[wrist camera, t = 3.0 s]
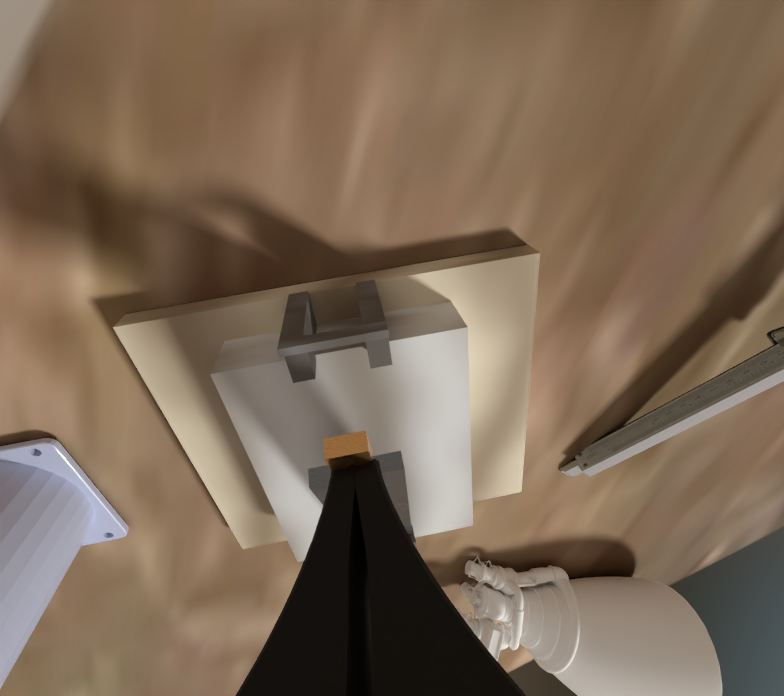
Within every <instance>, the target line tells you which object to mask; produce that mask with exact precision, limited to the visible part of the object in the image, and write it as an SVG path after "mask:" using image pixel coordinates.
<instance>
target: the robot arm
mask: <svg viewBox="0 0 784 696" xmlns="http://www.w3.org/2000/svg"><path fill="white" fill-rule="evenodd" d="M128 531H129V527H128V526H127V524H126V523H125V522H124V521H123V519H122V518H121V517H120V516H119V515H118V513H117V512H116V511H115V510H114V508H113V507H112V506H111V505H110V504H109V502H108V501H107V500H106V499H105V497H104V496H103V495H102V494H101V493H100V491H99V490H98V489H97V488H96V486H95V485H94V484H93V483H92V482H91V480H90V479H89V478H88V477H87V475H86V474H85V473H84V472H83V471H82V469H81V468H80V467H79V466H78V464H77V463H76V462H75V461H74V460H73V458H72V457H71V456H70V455H69V453H68V452H67V451H66V450H65V449H64V447H63V446H62V445H61V444H60V443H59V442H58V441H57V440H55V439H52V438H42V439H37V440H32V441H26V442H21V443H16V444H10V445H5V446H0V689H1V687H2V685H3V683H4V681H5V680H6V678H7V676H8V674H9V673H10V671H11V669H12V667H13V666H14V664H15V662H16V660H17V658H18V657H19V655H20V653H21V651H22V650H23V648H24V646H25V644H26V643H27V641H28V639H29V637H30V636H31V634H32V632H33V630H34V628H35V627H36V625H37V623H38V621H39V620H40V618H41V616H42V614H43V613H44V611H45V609H46V607H47V605H48V604H49V602H50V600H51V598H52V597H53V595H54V593H55V591H56V590H57V588H58V586H59V584H60V583H61V581H62V579H63V577H64V575H65V574H66V572H67V570H68V568H69V567H70V565H71V563H72V561H73V560H74V558H75V556H76V554H77V552H78V551H79V549H80V547H81V546H84V545H89V544H94V543H99V542H104V541H108V540H113V539H118V538H122V537H125V536H126V535H127V533H128ZM236 696H525V694H524V693H523V691H522V690H521V689H520V688H519V686H518V685H517V684H516V683H515V682H514V681H513V680H512V678H511V677H510V676H509V675H508V674H507V673H506V671H505V670H504V669H503V668H502V667H501V665H500V664H499V663H498V662H497V661H496V659H495V658H494V657H493V656H492V655H491V653H490V652H489V651H488V650H487V648H486V647H485V646H484V645H483V643H482V642H481V641H480V640H479V638H478V637H477V636H476V635H475V633H474V632H473V631H472V629H471V628H470V627H469V625H468V624H467V623H466V621H465V620H464V619H463V617H462V616H461V615H460V613H459V612H458V611H457V609H456V608H455V607H454V605H453V604H452V603H451V601H450V600H449V598H448V597H447V595H446V594H445V593H444V591H443V590H442V588H441V587H440V585H439V584H438V582H437V581H436V579H435V578H434V576H433V575H432V573H431V572H430V570H429V568H428V567H427V565H426V564H425V562H424V560H423V559H422V557H421V556H420V554H419V552H418V551H417V549H416V547H415V545H414V544H413V542H412V540H411V538H410V536H409V535H408V533H407V531H406V529H405V527H404V525H403V523H402V521H401V519H400V517H399V515H398V513H397V511H396V509H395V507H394V505H393V503H392V500H391V498H390V496H389V493H388V491H387V488H386V485H385V483H384V480H383V477H382V473H381V468H380V463H379V461H378V460H376V459H372V463H367V464H363V465H358V466H352V467H347V468H342V469H337V470H333V471H331V476H330V481H329V486H328V490H327V494H326V498H325V501H324V505H323V508H322V512H321V515H320V518H319V521H318V524H317V527H316V530H315V533H314V536H313V539H312V542H311V544H310V547H309V549H308V552H307V555H306V557H305V560H304V562H303V565H302V567H301V570H300V572H299V575H298V577H297V579H296V582H295V584H294V586H293V589H292V591H291V593H290V595H289V597H288V599H287V602H286V604H285V606H284V608H283V610H282V612H281V614H280V616H279V618H278V620H277V622H276V624H275V626H274V628H273V630H272V632H271V634H270V636H269V638H268V640H267V642H266V643H265V645H264V647H263V649H262V651H261V653H260V655H259V656H258V658H257V660H256V662H255V663H254V665H253V667H252V669H251V670H250V672H249V674H248V675H247V677H246V679H245V681H244V682H243V684H242V686H241V687H240V689H239V691H238V693H237V694H236Z"/></svg>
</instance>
